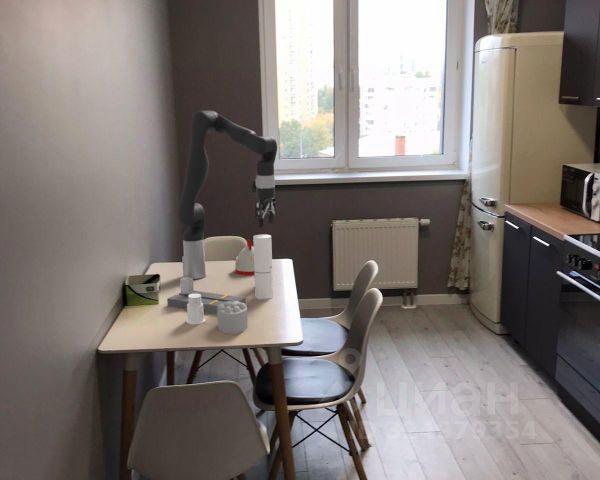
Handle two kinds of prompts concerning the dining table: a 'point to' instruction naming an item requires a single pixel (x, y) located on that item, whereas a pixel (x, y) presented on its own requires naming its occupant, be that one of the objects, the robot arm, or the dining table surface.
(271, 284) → the cylindrical container
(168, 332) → the dining table surface
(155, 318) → the dining table surface
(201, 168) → the robot arm
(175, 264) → the dining table surface
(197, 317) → the downlight
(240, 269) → the kitchen timer
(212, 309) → the fader console
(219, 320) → the lumpy-topped squat cylinder
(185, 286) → the fader knob
